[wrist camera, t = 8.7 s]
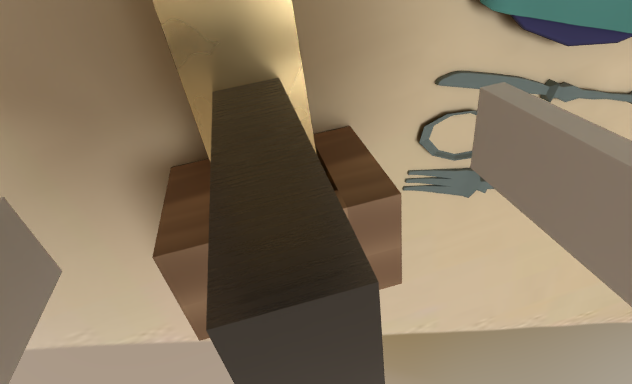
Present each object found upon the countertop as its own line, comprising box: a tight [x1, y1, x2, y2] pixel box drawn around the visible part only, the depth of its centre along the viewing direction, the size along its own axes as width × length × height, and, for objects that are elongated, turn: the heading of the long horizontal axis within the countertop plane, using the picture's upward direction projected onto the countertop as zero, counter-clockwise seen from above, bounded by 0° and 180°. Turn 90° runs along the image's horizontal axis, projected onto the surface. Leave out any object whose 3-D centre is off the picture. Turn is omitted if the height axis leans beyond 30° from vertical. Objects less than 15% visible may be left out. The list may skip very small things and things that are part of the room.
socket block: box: [153, 126, 402, 341], centre depth 19 cm, size 6×10×7 cm, turn 98°
